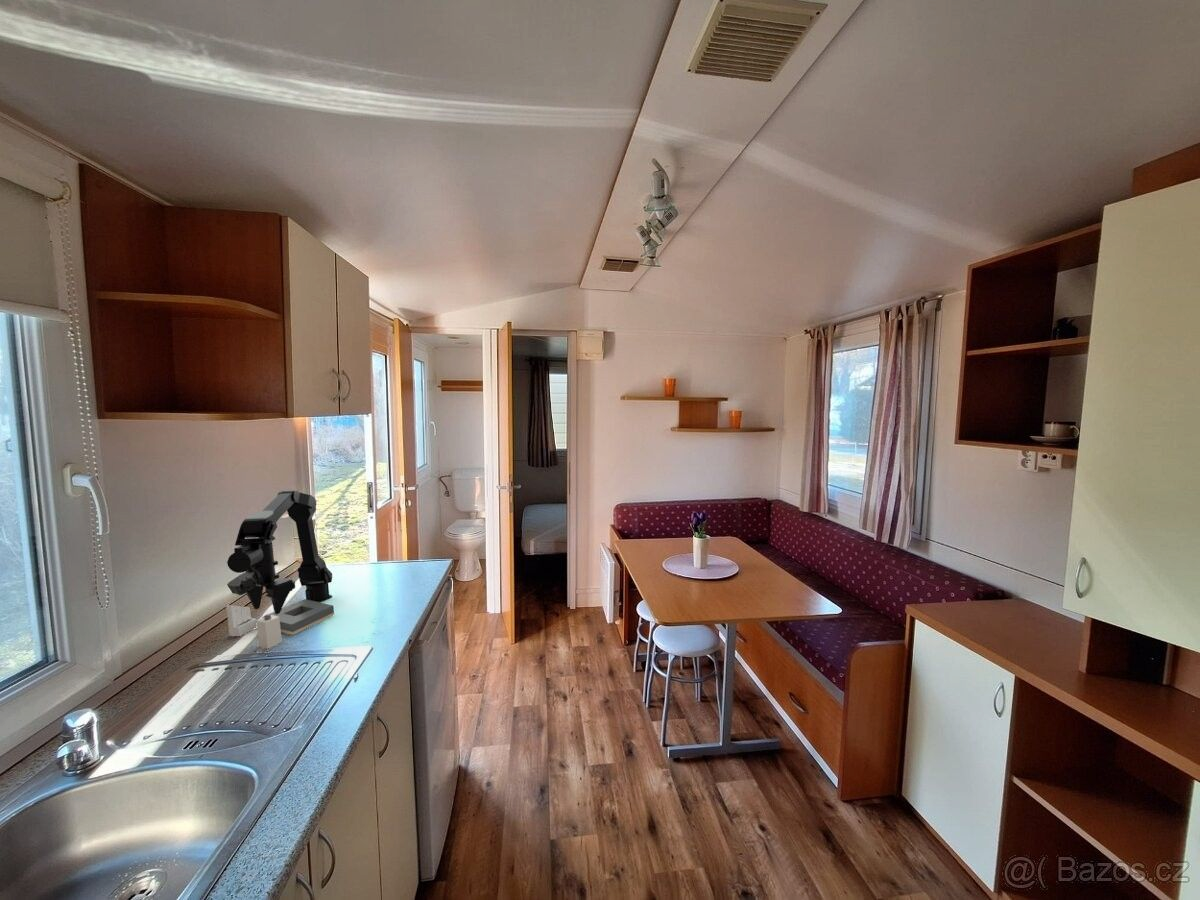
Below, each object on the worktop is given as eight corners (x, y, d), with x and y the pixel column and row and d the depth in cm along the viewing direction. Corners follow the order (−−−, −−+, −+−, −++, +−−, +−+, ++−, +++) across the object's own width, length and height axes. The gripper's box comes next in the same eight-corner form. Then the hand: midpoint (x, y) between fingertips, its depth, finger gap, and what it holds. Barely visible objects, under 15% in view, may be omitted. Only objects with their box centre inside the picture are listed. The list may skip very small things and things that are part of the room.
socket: (305, 608, 161) (304, 599, 161) (334, 615, 156) (333, 605, 156) (263, 627, 149) (262, 617, 148) (292, 635, 143) (291, 624, 143)
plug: (273, 640, 141) (270, 611, 140) (281, 642, 139) (278, 613, 138) (259, 646, 137) (255, 617, 136) (267, 649, 135) (264, 619, 134)
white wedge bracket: (214, 635, 139) (226, 604, 142) (243, 636, 148) (254, 607, 151) (224, 636, 138) (236, 605, 142) (253, 637, 147) (263, 608, 151)
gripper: (210, 565, 131) (216, 618, 133) (252, 574, 124) (258, 629, 126) (252, 552, 142) (257, 602, 143) (294, 560, 134) (299, 611, 136)
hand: (267, 611), depth 137 cm, fingers open, 9 cm apart
